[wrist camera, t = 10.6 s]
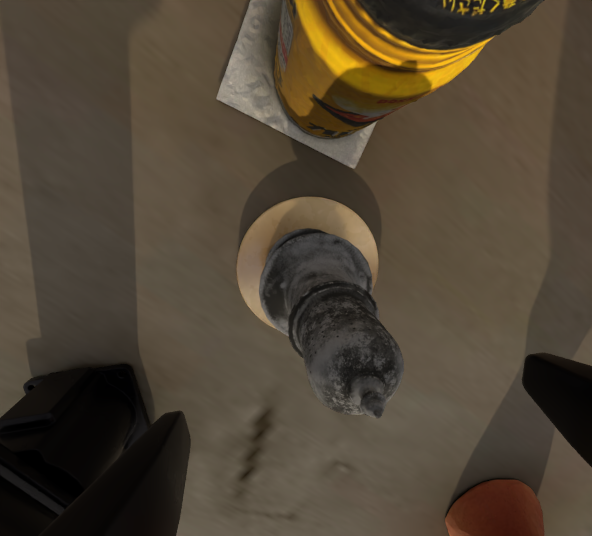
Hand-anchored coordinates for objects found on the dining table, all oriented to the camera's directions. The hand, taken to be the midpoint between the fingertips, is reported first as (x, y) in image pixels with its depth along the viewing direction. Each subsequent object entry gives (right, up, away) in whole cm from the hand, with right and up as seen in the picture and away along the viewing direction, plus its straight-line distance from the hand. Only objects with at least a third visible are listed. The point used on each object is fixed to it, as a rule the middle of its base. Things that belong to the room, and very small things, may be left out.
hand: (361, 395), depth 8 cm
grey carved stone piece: (-1, +3, +11) cm, 12 cm away
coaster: (-1, +3, +11) cm, 12 cm away
